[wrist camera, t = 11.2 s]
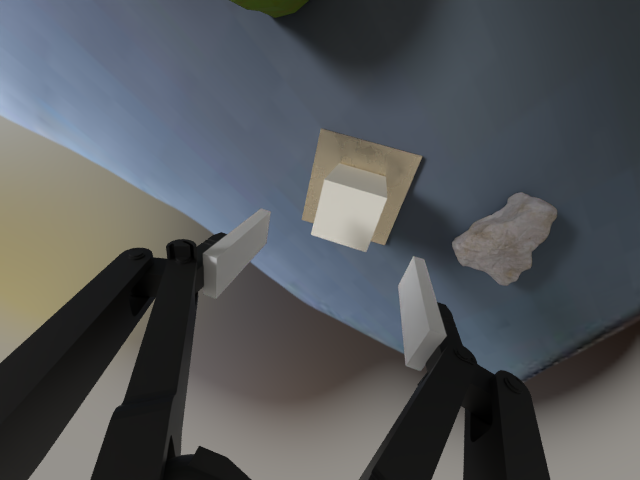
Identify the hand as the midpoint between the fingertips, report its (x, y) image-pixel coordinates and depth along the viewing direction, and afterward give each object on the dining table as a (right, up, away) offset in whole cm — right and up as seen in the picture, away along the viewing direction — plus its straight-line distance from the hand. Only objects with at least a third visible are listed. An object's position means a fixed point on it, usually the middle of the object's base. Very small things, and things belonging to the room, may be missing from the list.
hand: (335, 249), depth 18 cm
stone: (+20, +2, +12) cm, 24 cm away
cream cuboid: (+3, +7, +13) cm, 15 cm away
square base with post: (+3, +7, +14) cm, 16 cm away
